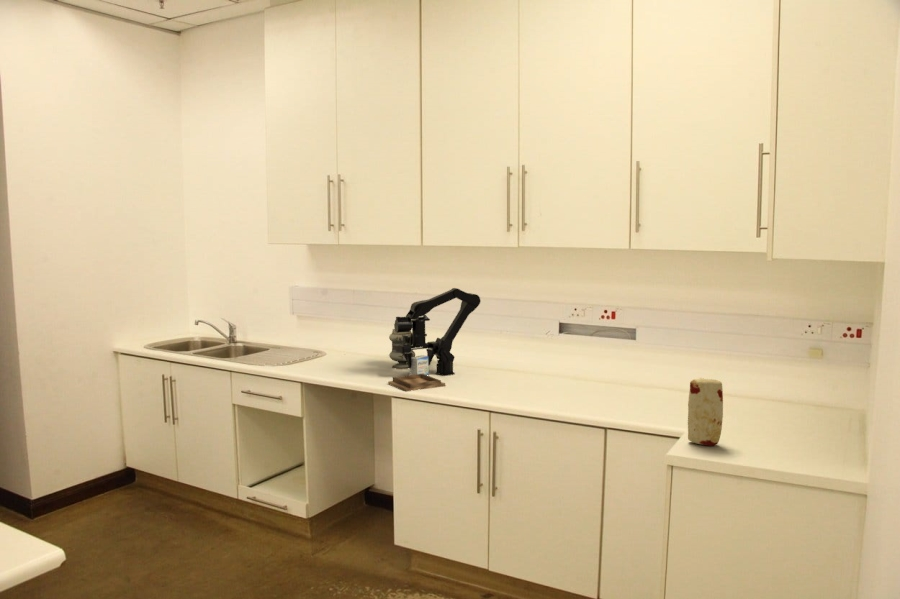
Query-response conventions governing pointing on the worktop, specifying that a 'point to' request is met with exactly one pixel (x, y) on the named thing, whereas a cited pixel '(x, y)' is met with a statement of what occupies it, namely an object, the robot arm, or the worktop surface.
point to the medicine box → (419, 365)
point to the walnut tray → (415, 382)
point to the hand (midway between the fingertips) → (419, 366)
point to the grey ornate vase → (395, 355)
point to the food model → (705, 411)
